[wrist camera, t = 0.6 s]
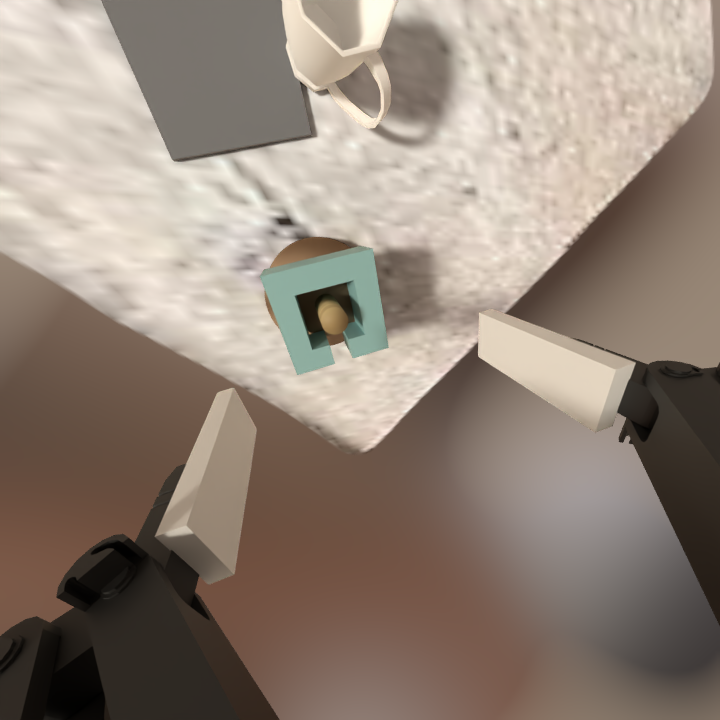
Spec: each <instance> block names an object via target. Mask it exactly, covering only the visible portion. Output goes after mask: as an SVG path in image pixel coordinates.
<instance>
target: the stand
mask: <svg viewBox="0 0 720 720" xmlns="http://www.w3.org/2000/svg"><path fill="white" fill-rule="evenodd" d="M346 249H350V247H349V246H347V245H345V244H344V243H341V242H339V241H337V240H333V239H330V238H324V237H310V238H304V239H301V240H298V241H296V242H294V243H292V244H290V245H289V246H287V247H286V248H285V249H283V250H282V251H281V252H280V253H279V254H278V256H277V257H276V258H275V260H274V261H273V263H272V265H271V267H270V268H273V267H277V266H281V265H285V264H289V263H293V262H297V261H301V260H305V259H309V258H314V257H318V256H322V255H326V254H330V253H334V252H338V251H342V250H346ZM296 296H297V299H298V302H299V305H300V308H301V311H302V314H303V317H304V320H305V324H306V327H307V330H308V333H309V334H312V333H316V332H319V331H323V330H324V331H325V334H326V337H327V340H328V342H329V345H330V346H331V345H335V344H338V343H341V342H343V341H344V337H343V333H342V332H343V331H344V330H345V329H346V328H347V326H348V323H351V322H355V318H354V314H353V309H352V304H351V300H350V295H349V291H348V286H347V282H345V283H341V284H337V285H333V286H329V287H326V288H322V289H318V290H314V291H310V292H307V293H303V294H299V295H296ZM265 300H266V305H267V308H268V311H269V313H270V316H271V318H272V319H273V321H274V323H275V324H276V325H277V326H278V328H279V325H278V323H277V320H276V317H275V315H274V312H273V309H272V307H271V304H270V302H269V299H268V296H267V294H266V291H265ZM279 329H280V328H279Z"/></svg>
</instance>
